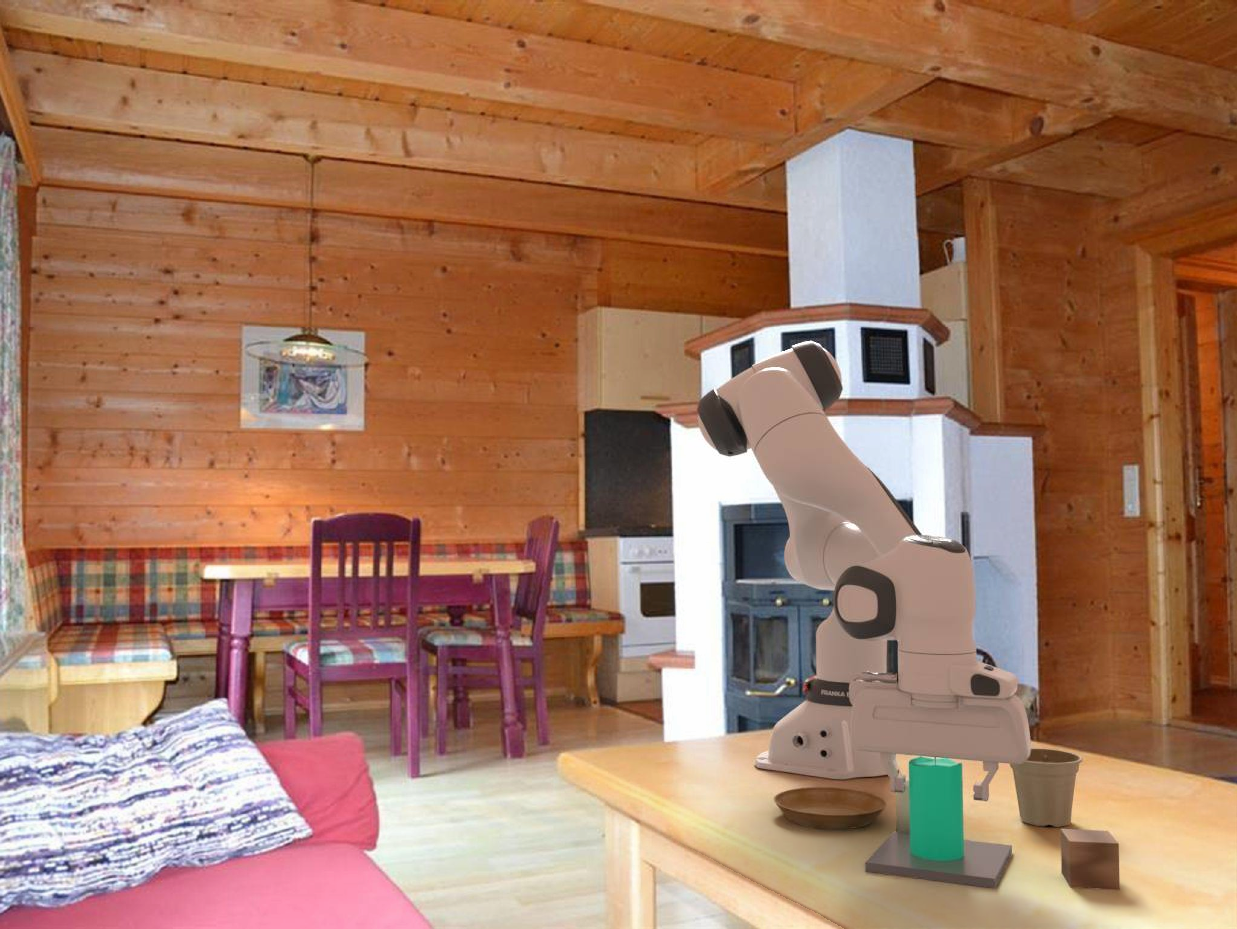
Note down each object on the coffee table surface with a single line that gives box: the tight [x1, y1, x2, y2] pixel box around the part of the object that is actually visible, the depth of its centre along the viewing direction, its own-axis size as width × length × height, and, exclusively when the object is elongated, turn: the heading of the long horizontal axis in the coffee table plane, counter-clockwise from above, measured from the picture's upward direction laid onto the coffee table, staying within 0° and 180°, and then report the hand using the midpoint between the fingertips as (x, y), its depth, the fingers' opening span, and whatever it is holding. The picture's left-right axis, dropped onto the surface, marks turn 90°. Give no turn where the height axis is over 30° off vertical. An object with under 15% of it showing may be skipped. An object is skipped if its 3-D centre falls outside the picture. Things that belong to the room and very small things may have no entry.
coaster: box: [864, 831, 1013, 889], centre depth 132 cm, size 14×14×1 cm
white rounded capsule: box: [895, 780, 910, 833], centre depth 144 cm, size 5×5×6 cm
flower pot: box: [1009, 747, 1083, 828], centre depth 150 cm, size 9×9×9 cm
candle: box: [908, 756, 965, 861], centre depth 132 cm, size 6×6×12 cm
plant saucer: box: [773, 786, 887, 830], centre depth 152 cm, size 15×15×3 cm
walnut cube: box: [1060, 828, 1121, 891], centre depth 125 cm, size 5×5×5 cm
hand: (939, 795), depth 132 cm, fingers open, 8 cm apart
